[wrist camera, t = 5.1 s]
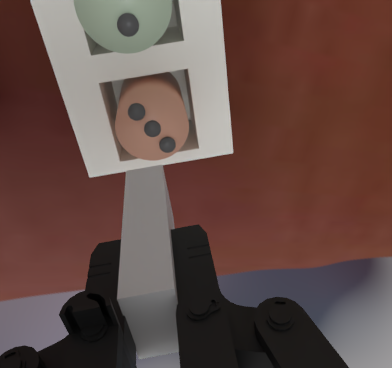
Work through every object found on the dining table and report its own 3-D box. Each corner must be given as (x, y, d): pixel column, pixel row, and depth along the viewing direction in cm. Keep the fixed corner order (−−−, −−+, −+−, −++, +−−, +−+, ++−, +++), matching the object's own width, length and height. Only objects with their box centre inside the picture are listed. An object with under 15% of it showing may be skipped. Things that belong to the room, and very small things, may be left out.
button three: (114, 70, 26) (106, 100, 21) (176, 60, 26) (183, 87, 21) (128, 128, 28) (124, 167, 23) (184, 118, 28) (193, 155, 23)
